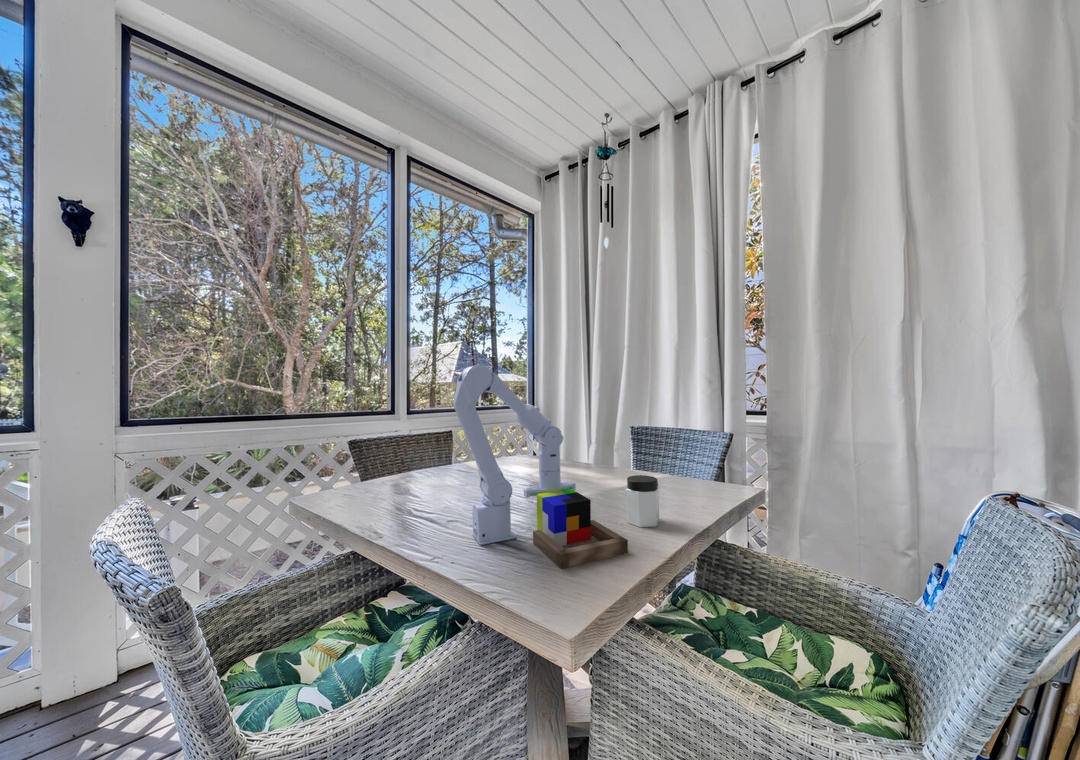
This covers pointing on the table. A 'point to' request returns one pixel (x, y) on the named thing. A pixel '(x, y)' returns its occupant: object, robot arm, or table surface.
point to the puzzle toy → (564, 516)
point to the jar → (642, 501)
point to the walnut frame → (582, 547)
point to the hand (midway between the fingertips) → (551, 520)
